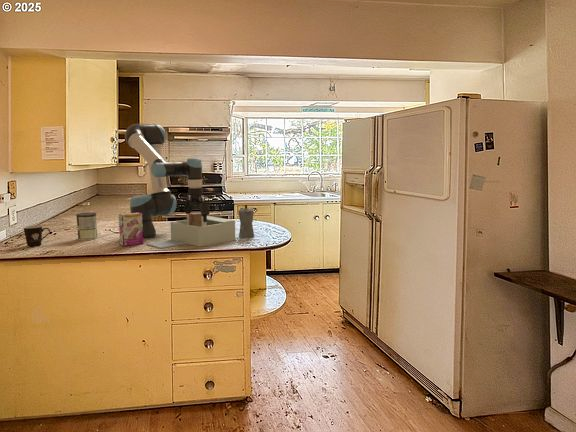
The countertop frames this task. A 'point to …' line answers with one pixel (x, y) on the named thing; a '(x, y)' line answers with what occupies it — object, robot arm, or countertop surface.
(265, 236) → the countertop surface
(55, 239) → the countertop surface
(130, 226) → the candy bar box
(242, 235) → the coffeepot
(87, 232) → the coffee can
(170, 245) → the pad
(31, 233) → the coffee mug
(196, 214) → the walnut block
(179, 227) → the crate
